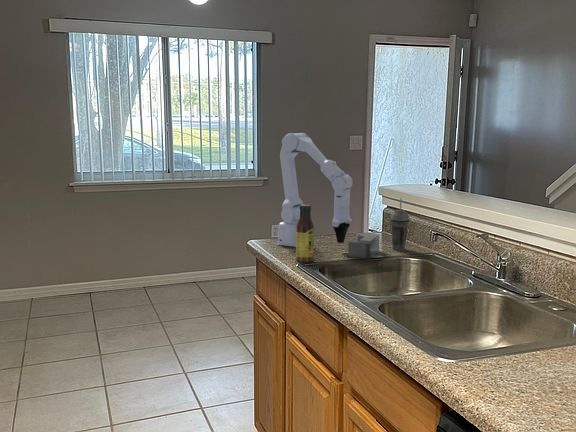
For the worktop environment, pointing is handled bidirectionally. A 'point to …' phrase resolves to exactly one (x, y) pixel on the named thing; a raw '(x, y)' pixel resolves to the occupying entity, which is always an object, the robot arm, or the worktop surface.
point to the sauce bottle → (305, 235)
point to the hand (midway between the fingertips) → (340, 242)
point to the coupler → (364, 246)
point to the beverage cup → (399, 228)
